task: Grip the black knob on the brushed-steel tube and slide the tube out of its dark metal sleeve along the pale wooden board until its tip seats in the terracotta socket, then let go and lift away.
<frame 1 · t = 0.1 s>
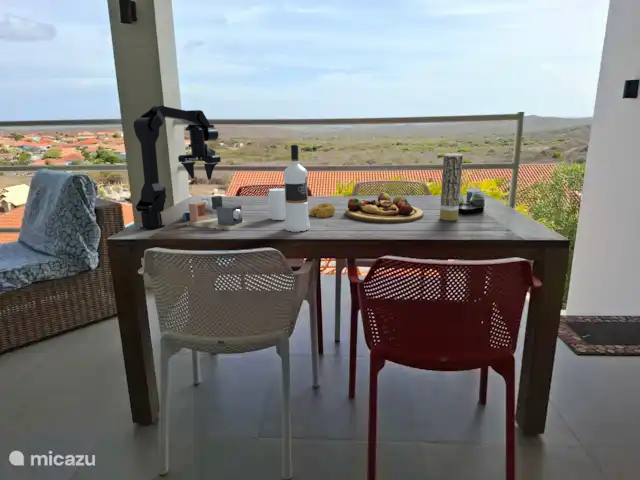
hand: (201, 179, 174), 15 cm above the table, tool pointing down, fingers open, 9 cm apart
vodka: (297, 229, 148), on the table
base board: (216, 224, 157), on the table
socket: (198, 211, 159), on the base board, point 5 cm above the table
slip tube: (222, 207, 153), point 7 cm above the table, slide at 0.0 cm
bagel: (322, 216, 171), on the table
sleeve: (229, 214, 153), on the base board, point 4 cm above the table
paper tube: (448, 219, 160), on the table
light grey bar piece: (199, 215, 176), on the table
beverage can: (279, 219, 165), on the table
wooden plate with food: (383, 216, 170), on the table
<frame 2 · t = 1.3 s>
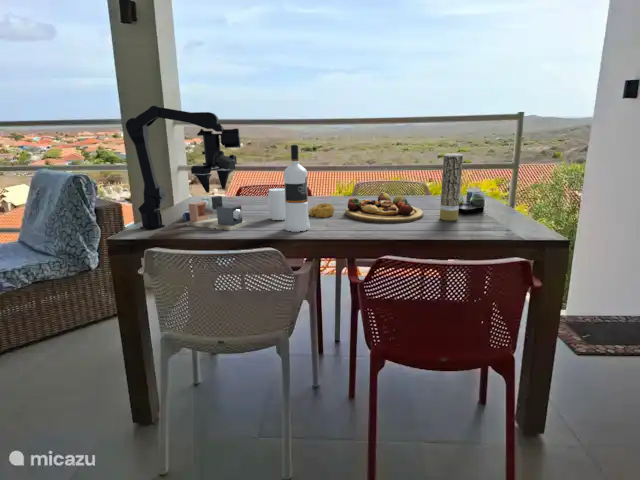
hand: (216, 190, 153), 13 cm above the table, tool pointing down, fingers open, 9 cm apart
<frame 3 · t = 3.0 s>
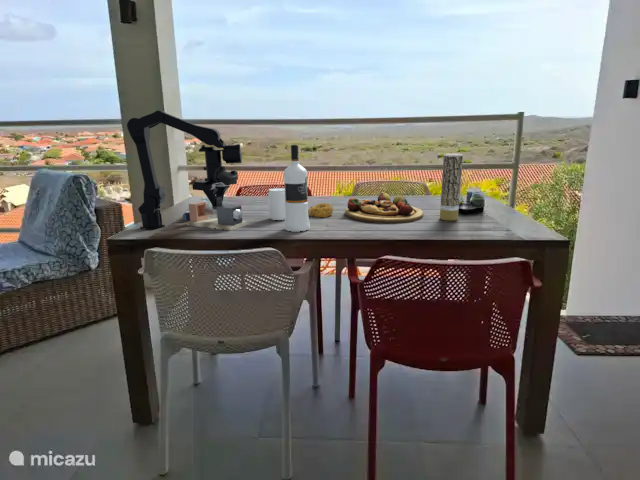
hand: (217, 205, 154), 8 cm above the table, tool pointing down, fingers closed on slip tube, 3 cm apart
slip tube: (222, 207, 153), point 7 cm above the table, slide at 0.0 cm, touching gripper
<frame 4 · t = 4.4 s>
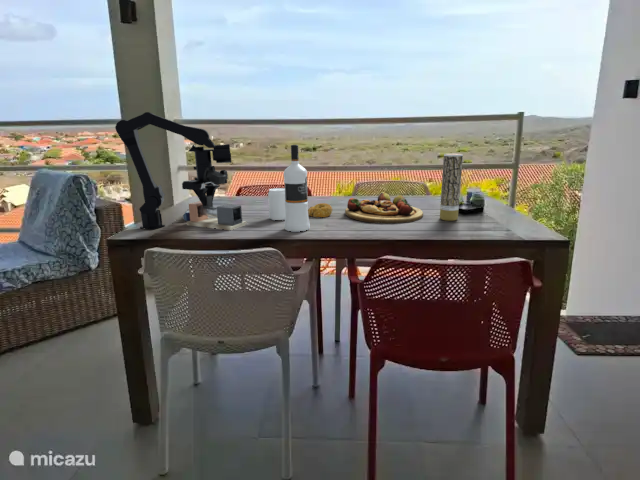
hand: (207, 204, 156), 7 cm above the table, tool pointing down, fingers closed on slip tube, 3 cm apart
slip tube: (212, 206, 155), point 7 cm above the table, slide at 4.7 cm, touching gripper
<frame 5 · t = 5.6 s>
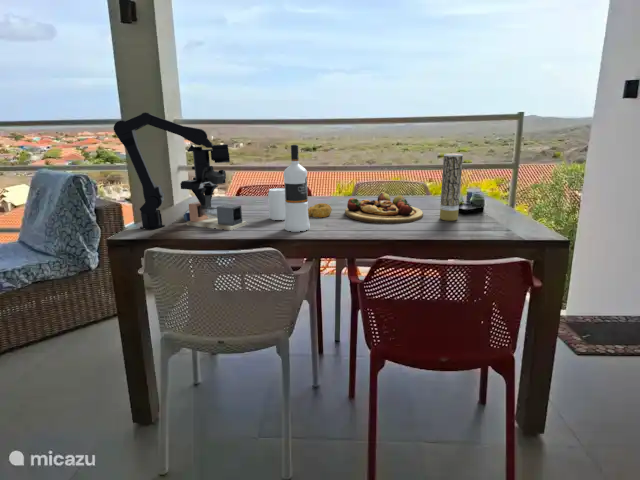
hand: (205, 204, 157), 7 cm above the table, tool pointing down, fingers closed on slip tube, 3 cm apart
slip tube: (210, 206, 156), point 7 cm above the table, slide at 5.6 cm, touching gripper
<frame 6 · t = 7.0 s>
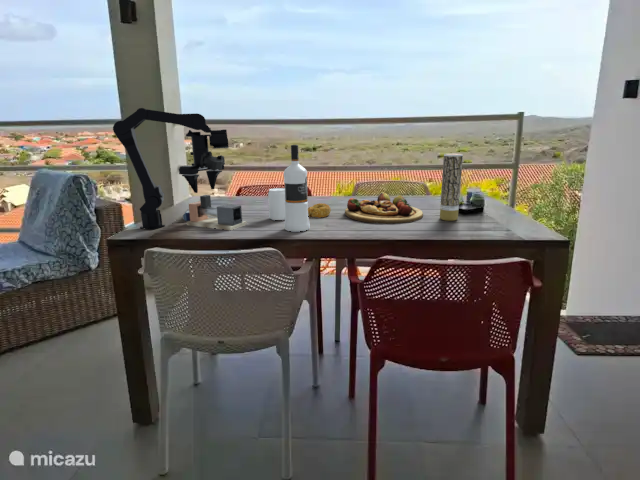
hand: (204, 191, 155), 13 cm above the table, tool pointing down, fingers open, 9 cm apart
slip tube: (210, 206, 156), point 7 cm above the table, slide at 5.5 cm
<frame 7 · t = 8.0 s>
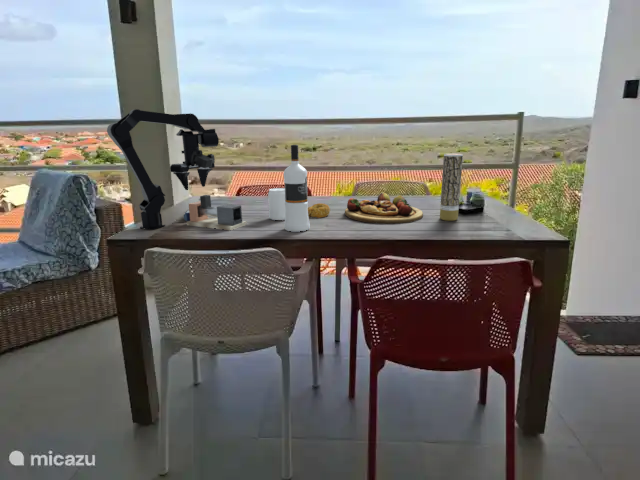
hand: (195, 188, 161), 13 cm above the table, tool pointing down, fingers open, 9 cm apart
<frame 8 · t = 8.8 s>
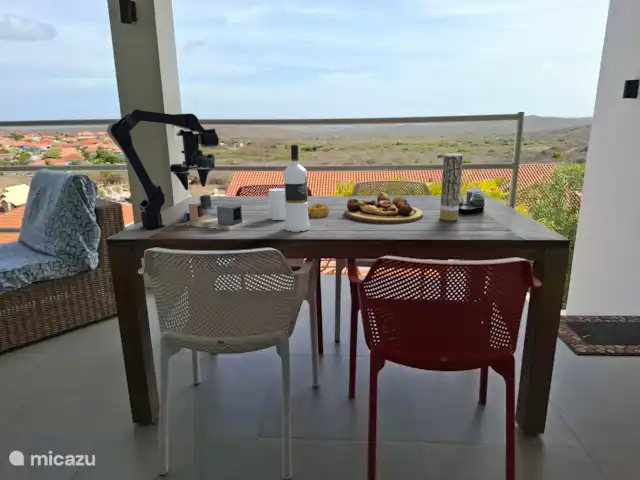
hand: (195, 188, 161), 13 cm above the table, tool pointing down, fingers open, 9 cm apart
at the end: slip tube slide at 5.5 cm; the gripper is holding nothing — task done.
